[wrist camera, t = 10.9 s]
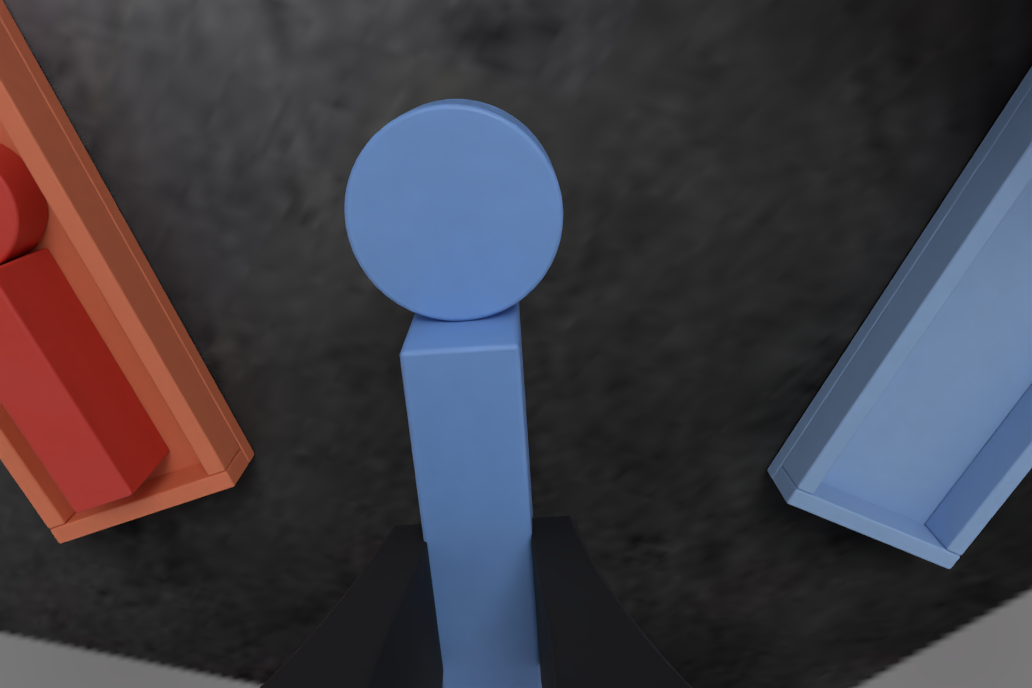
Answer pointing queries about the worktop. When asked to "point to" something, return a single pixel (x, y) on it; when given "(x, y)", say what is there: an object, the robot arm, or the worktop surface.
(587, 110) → the worktop surface
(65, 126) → the orange tray
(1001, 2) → the worktop surface
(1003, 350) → the blue rest
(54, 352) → the red spoon
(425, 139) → the blue spoon
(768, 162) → the worktop surface
